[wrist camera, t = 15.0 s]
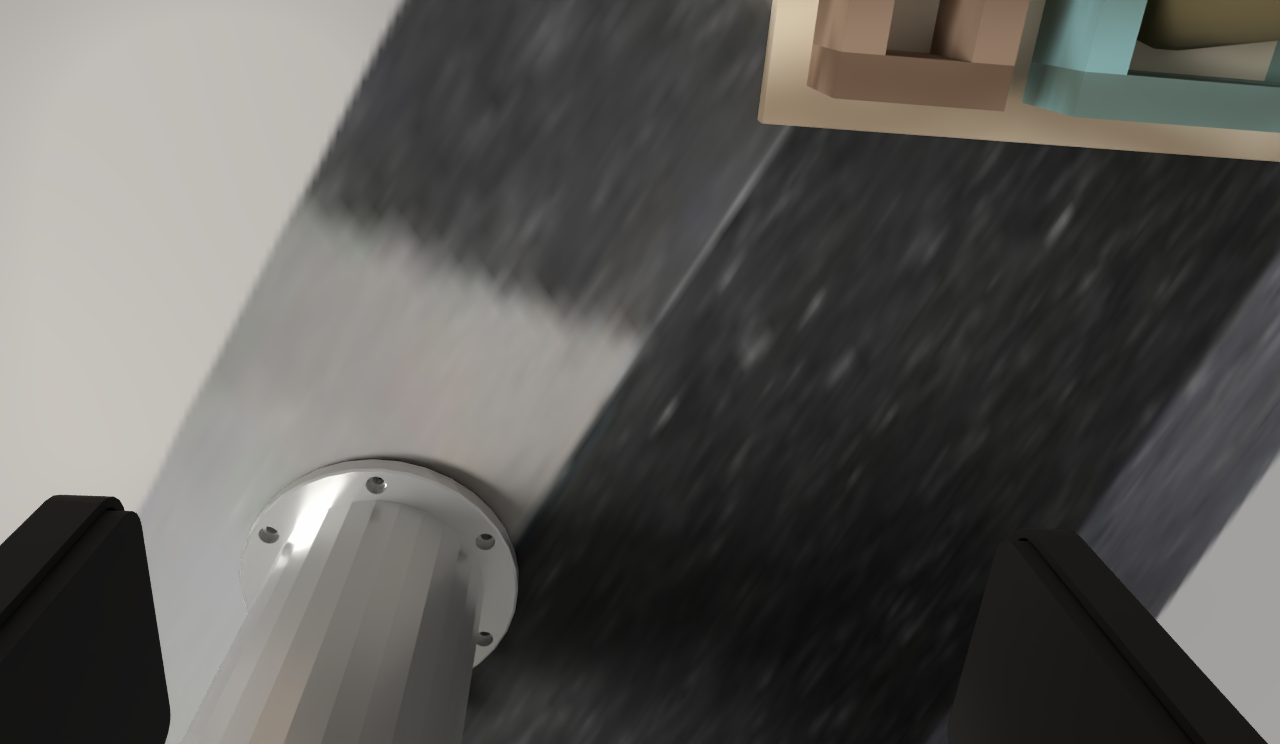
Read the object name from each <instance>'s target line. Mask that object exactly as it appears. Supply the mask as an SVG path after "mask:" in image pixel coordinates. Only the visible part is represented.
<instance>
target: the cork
mask: <svg viewBox="0 0 1280 744" xmlns="http://www.w3.org/2000/svg"><path fill="white" fill-rule="evenodd" d="M1137 40H1138V41H1140V42H1142V43H1144V44H1146V45H1148V46H1150V47H1152V48H1154V49H1164V50H1176V51H1179V50H1189V49H1199V48H1209V47H1219V46H1229V45H1239V44H1250V43H1260V42H1270V41H1280V0H1147V4H1146V7H1145V11H1144V15H1143V18H1142V22H1141V26H1140V29H1139V33H1138V36H1137Z"/></svg>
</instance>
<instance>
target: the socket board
mask: <svg viewBox="0 0 1280 744" xmlns="http://www.w3.org/2000/svg"><path fill="white" fill-rule="evenodd" d="M1146 4H1147V0H773V2H772V10H771V18H770V26H769V34H768V42H767V49H766V57H765V65H764V73H763V81H762V89H761V97H760V105H759V112H758V120H759V121H760V122H761V123H764V124H777V125H791V126H804V127H818V128H831V129H845V130H858V131H872V132H885V133H899V134H912V135H926V136H940V137H953V138H967V139H980V140H994V141H1007V142H1021V143H1034V144H1048V145H1061V146H1075V147H1088V148H1102V149H1115V150H1129V151H1142V152H1156V153H1169V154H1183V155H1196V156H1210V157H1223V158H1237V159H1251V160H1264V161H1278V162H1280V41H1270V42H1260V43H1250V44H1239V45H1229V46H1219V47H1209V48H1199V49H1189V50H1179V51H1176V50H1164V49H1154V48H1152V47H1150V46H1148V45H1146V44H1144V43H1142V42H1140V41H1138V40H1137V36H1138V33H1139V29H1140V26H1141V22H1142V18H1143V15H1144V11H1145V7H1146Z"/></svg>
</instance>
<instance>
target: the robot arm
mask: <svg viewBox="0 0 1280 744" xmlns="http://www.w3.org/2000/svg"><path fill="white" fill-rule="evenodd" d="M376 477H380V478H382V479H378V478H376ZM485 533H486V534H485ZM487 534H488V535H487ZM518 575H519V570H518V565H517V560H516V555H515V550H514V547H513V545H512V543H511V540H510V538H509V536H508V534H507V531H506V529H505V528H504V526H503V525H502V523H501V522H500V521H499V519H498V518H497V517H496V515H495V514H494V512H493V511H492V510H491V509H490V508H489V507H488V506H487V505H486V504H485V503H484V502H483V501H482V500H481V499H480V498H479V497H478V496H476V495H475V494H474V493H473V492H472V491H470V490H468V489H467V488H465V487H464V486H462V485H461V484H459V483H458V482H456V481H455V480H453V479H451V478H449V477H447V476H444V475H442V474H440V473H437V472H435V471H433V470H430V469H428V468H425V467H421V466H417V465H413V464H409V463H405V462H401V461H388V460H376V459H370V460H358V461H347V462H342V463H338V464H334V465H331V466H327V467H323V468H319V469H317V470H315V471H313V472H311V473H309V474H307V475H305V476H302V477H300V478H298V479H296V480H295V481H294V482H292V483H291V484H289V485H288V486H287V487H285V488H284V489H283V490H281V491H280V492H279V493H277V494H276V495H275V496H274V498H273V499H272V500H271V501H270V502H269V503H268V504H267V506H266V507H265V508H264V509H263V510H262V511H261V513H260V515H259V516H258V518H257V519H256V521H255V523H254V524H253V526H252V528H251V530H250V532H249V534H248V537H247V539H246V542H245V544H244V547H243V549H242V553H241V561H240V569H239V578H240V587H241V595H242V598H243V601H244V604H245V607H246V609H247V612H248V614H247V616H246V618H245V619H244V621H243V623H242V625H241V627H240V629H239V631H238V633H237V635H236V637H235V639H234V641H233V643H232V645H231V647H230V648H229V650H228V652H227V654H226V656H225V658H224V660H223V662H222V664H221V666H220V668H219V670H218V672H217V674H216V676H215V677H214V679H213V681H212V683H211V685H210V687H209V689H208V691H207V693H206V695H205V697H204V699H203V701H202V703H201V705H200V706H199V708H198V710H197V712H196V714H195V716H194V718H193V720H192V722H191V724H190V726H189V728H188V730H187V732H186V733H185V735H184V737H183V739H182V741H181V743H180V744H461V743H462V737H463V730H464V723H465V717H466V710H467V703H468V697H469V690H470V683H471V677H472V670H473V668H474V667H476V666H477V665H479V664H480V663H481V662H482V661H483V660H484V659H485V658H486V657H487V656H488V655H489V654H490V653H491V652H492V651H493V650H494V649H495V648H496V647H497V645H498V644H499V642H500V641H501V640H502V638H503V637H504V635H505V634H506V632H507V630H508V628H509V625H510V623H511V620H512V618H513V615H514V613H515V607H516V601H517V594H518ZM169 725H170V705H169V698H168V692H167V685H166V679H165V673H164V666H163V660H162V653H161V647H160V640H159V634H158V628H157V621H156V615H155V608H154V602H153V595H152V589H151V583H150V576H149V570H148V563H147V557H146V550H145V544H144V538H143V531H142V525H141V521H140V518H139V516H138V515H137V513H135V512H133V511H124V507H123V505H122V504H121V502H120V500H119V499H117V498H115V497H106V496H76V495H56V496H52V497H51V498H49V499H48V500H46V501H45V502H44V503H43V504H42V505H41V506H40V507H39V508H38V509H37V510H36V511H35V512H34V513H33V514H32V515H31V516H30V517H29V518H28V519H27V520H26V521H25V522H24V523H23V524H22V525H21V526H20V527H19V528H18V529H17V530H16V531H14V533H12V534H11V535H10V536H9V537H8V538H7V539H6V540H5V541H4V543H2V544H1V545H0V744H165V741H166V738H167V735H168V730H169ZM948 740H949V744H1268V743H1267V742H1266V741H1265V740H1264V739H1263V738H1262V737H1261V736H1260V735H1259V734H1258V732H1257V731H1256V730H1255V729H1254V728H1253V727H1252V726H1251V725H1250V724H1249V722H1248V721H1247V720H1246V719H1245V718H1244V717H1243V716H1242V715H1241V714H1240V713H1239V711H1238V710H1237V709H1236V708H1235V707H1234V706H1233V705H1232V704H1231V703H1230V701H1229V700H1228V699H1227V698H1226V697H1225V696H1224V695H1223V694H1222V693H1221V692H1220V690H1219V689H1217V687H1216V686H1215V685H1214V684H1213V683H1212V682H1211V681H1210V679H1209V678H1208V677H1207V676H1206V675H1205V674H1204V673H1203V672H1202V671H1201V669H1199V667H1198V666H1197V665H1196V664H1195V663H1194V662H1193V661H1192V660H1191V659H1190V658H1189V656H1188V655H1187V654H1186V653H1185V652H1184V651H1183V650H1182V649H1181V647H1180V646H1179V645H1178V644H1177V643H1176V642H1175V641H1174V640H1173V639H1172V637H1171V636H1170V635H1169V634H1168V633H1167V632H1166V631H1165V630H1164V629H1163V628H1162V626H1161V625H1160V624H1159V623H1158V622H1157V621H1156V620H1155V619H1154V618H1153V616H1152V615H1151V614H1150V613H1149V612H1148V611H1147V610H1146V609H1145V608H1144V607H1143V605H1142V604H1141V603H1140V602H1139V601H1138V600H1137V599H1136V598H1135V597H1134V595H1133V594H1132V593H1131V592H1130V591H1129V590H1128V589H1127V588H1126V587H1125V586H1124V584H1123V583H1122V582H1121V581H1120V580H1119V579H1118V578H1117V577H1116V576H1115V574H1114V573H1113V572H1112V571H1111V570H1110V569H1109V568H1108V567H1107V566H1106V565H1105V563H1104V562H1103V561H1102V560H1101V559H1100V558H1099V557H1098V556H1097V555H1096V554H1095V552H1094V551H1093V550H1092V549H1091V548H1090V547H1089V546H1088V545H1087V544H1086V542H1085V541H1084V540H1083V539H1082V538H1081V537H1080V536H1079V535H1078V534H1076V533H1075V532H1074V531H1070V530H1056V529H1027V528H1022V529H1020V530H1017V531H1016V532H1015V533H1014V535H1013V536H1012V537H1011V540H1010V541H1003V542H1001V543H1000V544H999V546H998V547H997V550H996V552H995V556H994V559H993V563H992V566H991V570H990V574H989V577H988V581H987V584H986V588H985V592H984V595H983V599H982V603H981V606H980V610H979V613H978V617H977V621H976V624H975V628H974V631H973V635H972V639H971V642H970V646H969V649H968V653H967V657H966V660H965V664H964V667H963V671H962V675H961V678H960V682H959V685H958V689H957V693H956V696H955V700H954V703H953V707H952V711H951V714H950V718H949V723H948Z"/></svg>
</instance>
